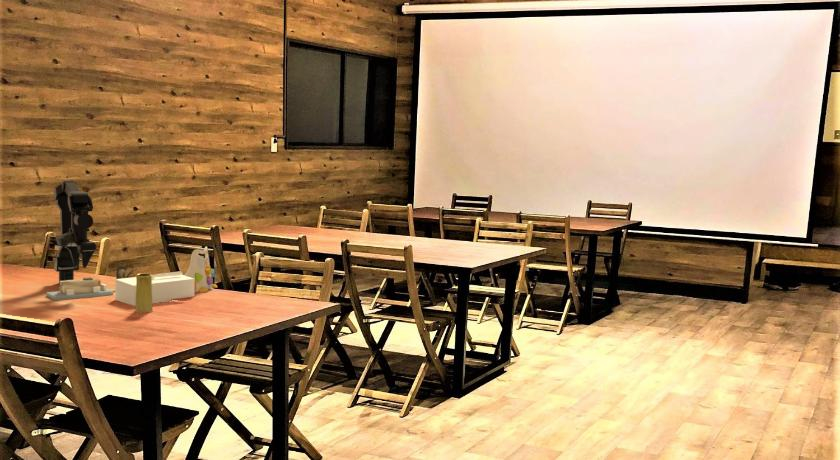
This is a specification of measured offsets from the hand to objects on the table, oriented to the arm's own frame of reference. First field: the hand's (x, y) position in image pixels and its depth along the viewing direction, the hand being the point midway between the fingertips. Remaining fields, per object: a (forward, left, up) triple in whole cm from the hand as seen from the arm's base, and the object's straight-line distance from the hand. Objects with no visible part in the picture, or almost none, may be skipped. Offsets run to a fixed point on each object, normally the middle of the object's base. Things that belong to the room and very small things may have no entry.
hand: (79, 266), depth 335 cm
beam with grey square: (0, 0, -10) cm, 10 cm away
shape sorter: (+14, +43, -12) cm, 47 cm away
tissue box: (+22, +20, -12) cm, 32 cm away
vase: (+41, +7, -12) cm, 43 cm away
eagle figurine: (-3, +19, -12) cm, 23 cm away
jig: (0, 0, -12) cm, 12 cm away
